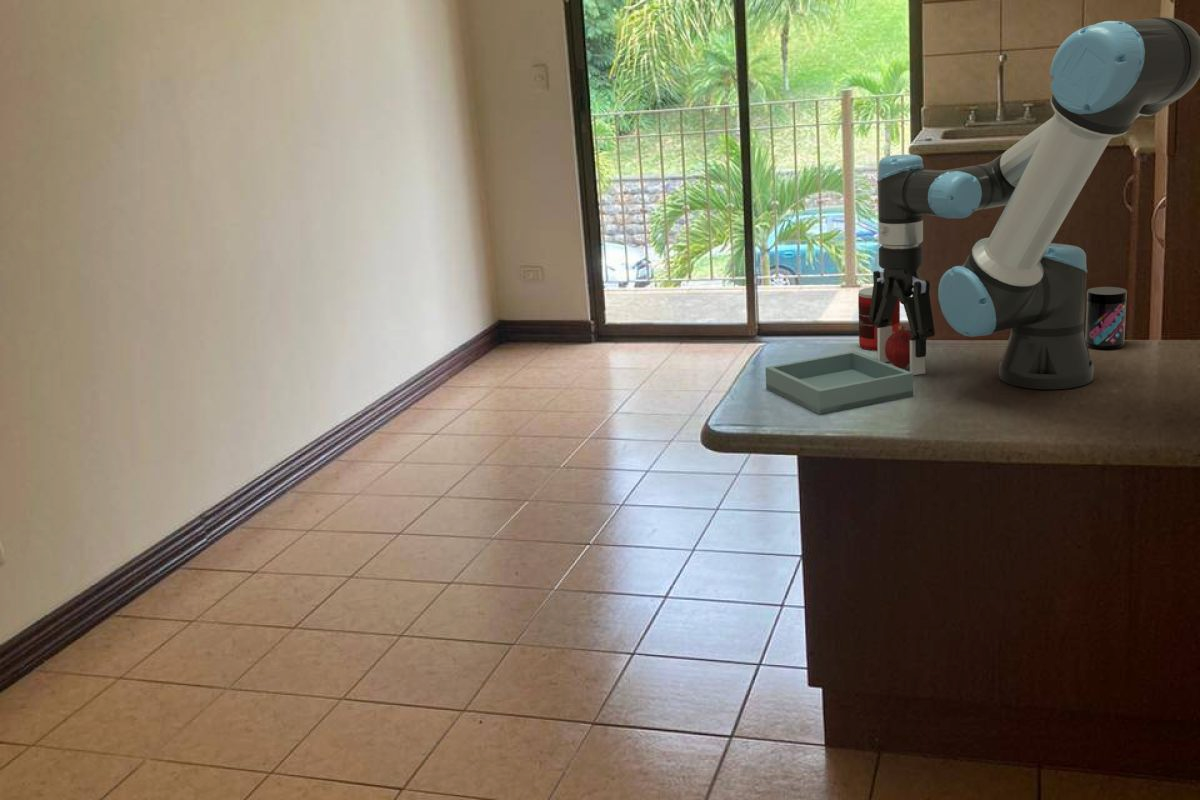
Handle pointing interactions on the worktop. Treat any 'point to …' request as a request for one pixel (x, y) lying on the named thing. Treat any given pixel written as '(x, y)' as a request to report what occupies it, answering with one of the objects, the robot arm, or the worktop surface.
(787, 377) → the bin
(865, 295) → the canned food
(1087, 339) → the supplement container
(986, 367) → the worktop surface
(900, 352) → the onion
